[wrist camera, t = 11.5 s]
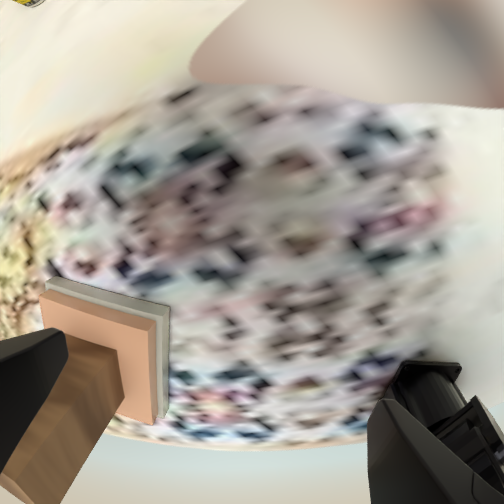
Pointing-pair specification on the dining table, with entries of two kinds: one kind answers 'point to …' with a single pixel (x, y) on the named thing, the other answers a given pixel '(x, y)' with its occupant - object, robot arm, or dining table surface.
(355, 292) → the dining table surface
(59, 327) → the tile pedestal
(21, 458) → the walnut block
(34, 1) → the supplement bottle
